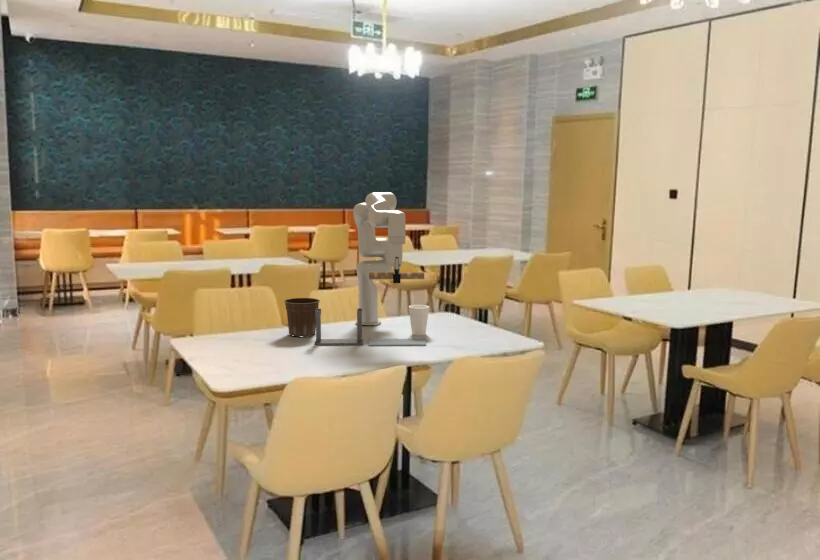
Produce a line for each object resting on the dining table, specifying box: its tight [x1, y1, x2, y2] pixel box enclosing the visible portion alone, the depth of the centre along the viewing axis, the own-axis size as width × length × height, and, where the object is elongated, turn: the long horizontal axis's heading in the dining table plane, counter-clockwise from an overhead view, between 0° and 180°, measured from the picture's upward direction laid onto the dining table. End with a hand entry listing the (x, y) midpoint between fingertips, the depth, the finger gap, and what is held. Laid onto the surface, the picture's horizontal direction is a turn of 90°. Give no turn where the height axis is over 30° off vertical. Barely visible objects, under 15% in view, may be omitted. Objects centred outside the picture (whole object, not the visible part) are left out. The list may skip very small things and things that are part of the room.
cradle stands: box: [314, 307, 364, 346], centre depth 313 cm, size 8×21×15 cm, turn 92°
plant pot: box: [284, 297, 321, 337], centre depth 330 cm, size 16×16×16 cm
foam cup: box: [408, 304, 430, 336], centre depth 333 cm, size 10×9×13 cm
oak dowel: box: [369, 271, 425, 280], centre depth 311 cm, size 24×3×3 cm, turn 92°
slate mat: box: [368, 338, 427, 347], centre depth 315 cm, size 11×25×1 cm, turn 92°
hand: (396, 282), depth 312 cm, fingers closed on oak dowel, 3 cm apart
